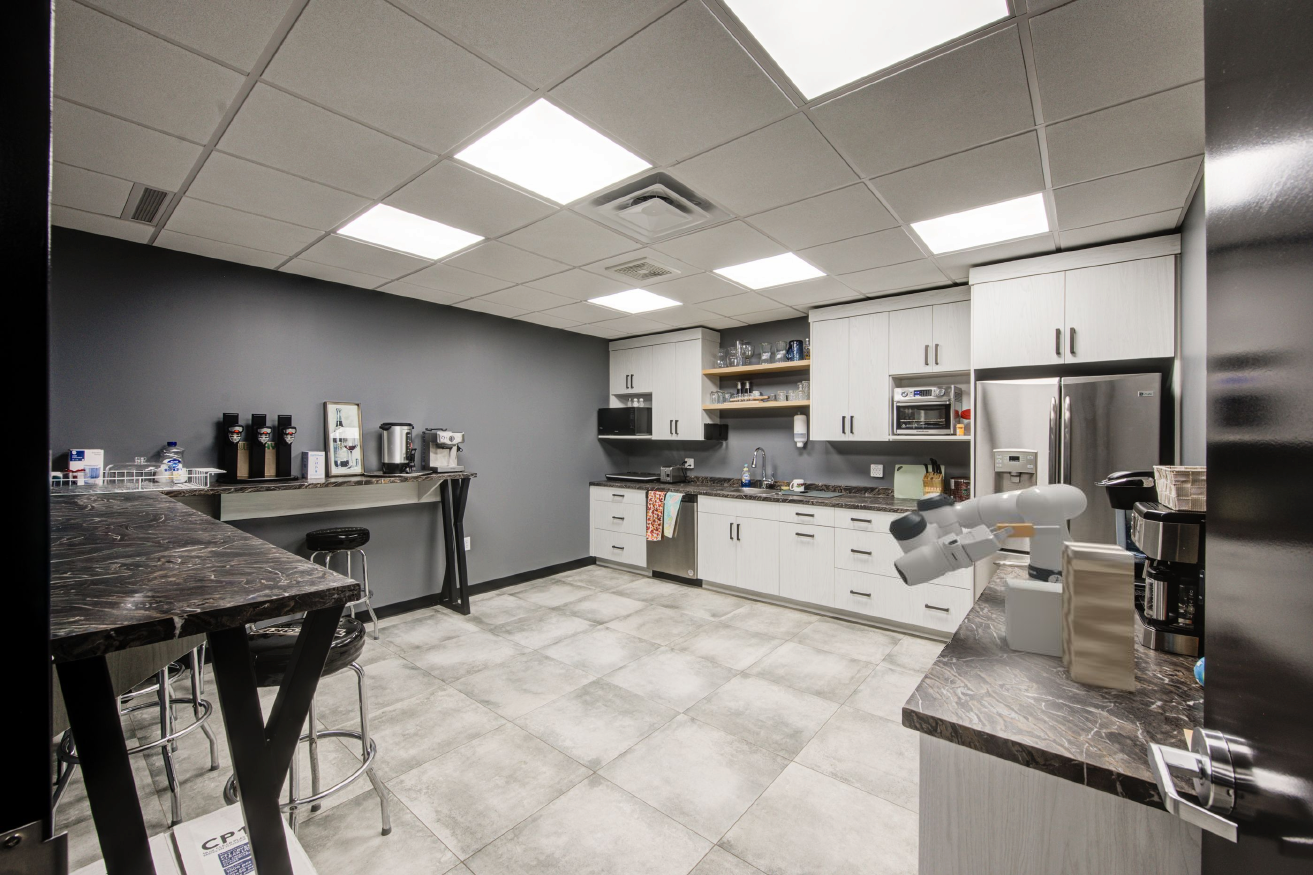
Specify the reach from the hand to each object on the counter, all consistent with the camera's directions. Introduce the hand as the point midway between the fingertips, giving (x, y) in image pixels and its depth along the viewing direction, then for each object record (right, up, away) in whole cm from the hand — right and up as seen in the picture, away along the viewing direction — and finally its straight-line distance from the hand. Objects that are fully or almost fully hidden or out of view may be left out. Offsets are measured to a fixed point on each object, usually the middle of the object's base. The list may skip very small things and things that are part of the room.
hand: (1011, 527), depth 135 cm
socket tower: (+8, -30, -17) cm, 35 cm away
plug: (+3, -2, -2) cm, 4 cm away
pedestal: (+7, -30, 0) cm, 31 cm away
